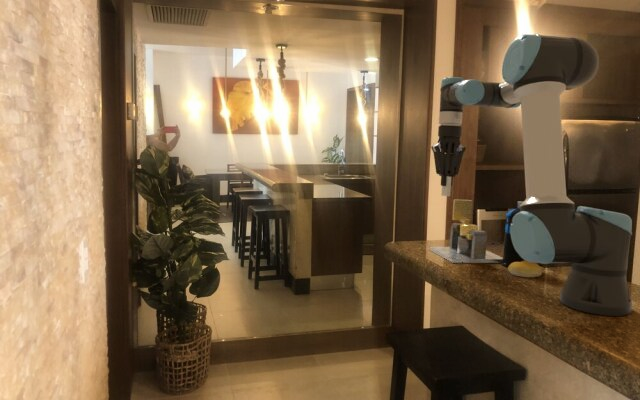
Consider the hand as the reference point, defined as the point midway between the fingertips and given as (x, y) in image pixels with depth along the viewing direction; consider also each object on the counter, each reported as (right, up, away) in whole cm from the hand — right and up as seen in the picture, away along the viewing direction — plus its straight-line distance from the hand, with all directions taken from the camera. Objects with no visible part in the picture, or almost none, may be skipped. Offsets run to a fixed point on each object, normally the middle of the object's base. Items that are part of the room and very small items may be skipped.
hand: (445, 195), depth 180 cm
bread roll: (+17, -23, -25) cm, 38 cm away
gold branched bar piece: (+6, -13, -3) cm, 15 cm away
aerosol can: (+18, -22, -15) cm, 32 cm away
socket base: (+6, -20, -5) cm, 21 cm away
